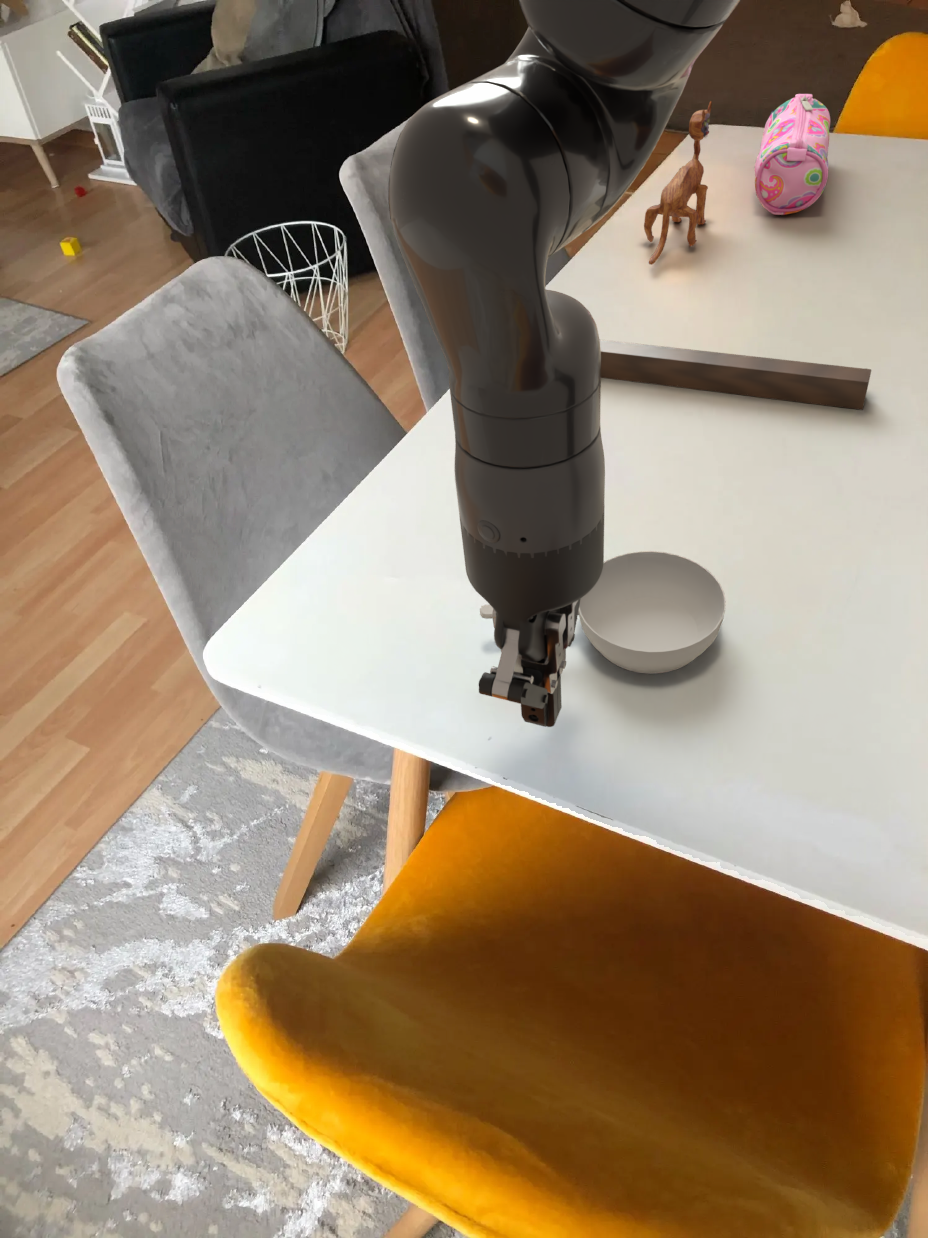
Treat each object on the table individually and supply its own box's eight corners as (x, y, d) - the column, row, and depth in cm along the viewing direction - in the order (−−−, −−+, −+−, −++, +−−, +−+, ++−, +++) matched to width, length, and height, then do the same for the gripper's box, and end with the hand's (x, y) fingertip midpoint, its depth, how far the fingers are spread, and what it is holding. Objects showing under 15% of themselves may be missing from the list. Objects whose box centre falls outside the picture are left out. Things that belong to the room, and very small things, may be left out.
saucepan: (735, 678, 69) (741, 641, 66) (486, 698, 70) (482, 663, 67) (705, 578, 77) (709, 541, 74) (481, 597, 78) (477, 562, 75)
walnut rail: (865, 396, 93) (871, 369, 90) (862, 410, 91) (868, 382, 89) (568, 361, 102) (567, 335, 100) (560, 372, 101) (560, 346, 99)
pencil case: (760, 156, 137) (768, 87, 131) (828, 157, 135) (839, 86, 129) (746, 218, 123) (754, 144, 117) (821, 220, 121) (833, 145, 114)
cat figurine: (676, 276, 114) (684, 156, 104) (623, 270, 116) (626, 151, 107) (720, 215, 125) (731, 101, 115) (671, 210, 127) (677, 98, 118)
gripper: (560, 600, 44) (566, 815, 56) (635, 439, 52) (626, 656, 64) (412, 570, 46) (448, 781, 58) (506, 420, 55) (521, 632, 67)
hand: (542, 715), depth 61 cm, fingers closed
